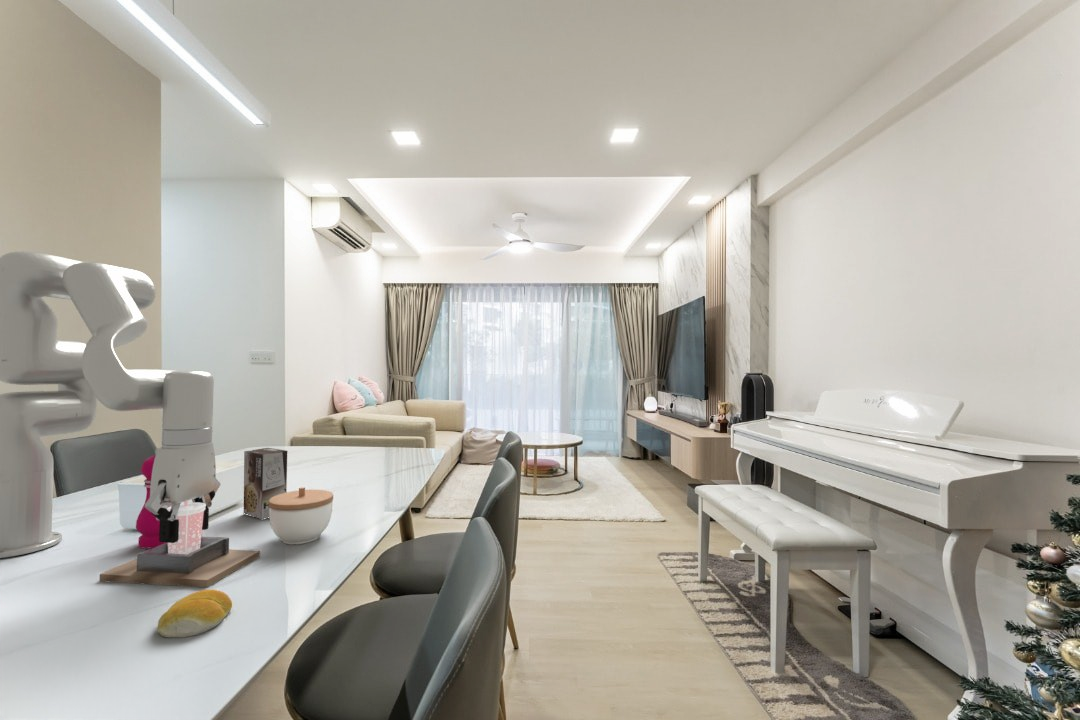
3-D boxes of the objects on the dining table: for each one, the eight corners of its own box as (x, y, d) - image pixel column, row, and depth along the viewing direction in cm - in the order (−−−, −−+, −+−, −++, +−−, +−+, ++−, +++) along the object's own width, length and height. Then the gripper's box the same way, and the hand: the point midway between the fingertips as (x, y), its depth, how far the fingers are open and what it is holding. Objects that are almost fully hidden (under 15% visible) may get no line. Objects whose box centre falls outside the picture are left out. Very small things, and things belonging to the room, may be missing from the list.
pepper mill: (154, 550, 96) (157, 451, 96) (125, 547, 97) (128, 449, 97) (188, 538, 103) (190, 445, 103) (160, 535, 104) (163, 444, 104)
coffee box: (287, 514, 120) (288, 450, 121) (261, 520, 115) (262, 454, 115) (267, 508, 125) (269, 446, 125) (241, 514, 120) (243, 450, 120)
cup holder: (99, 581, 82) (100, 556, 82) (165, 552, 95) (166, 531, 95) (207, 587, 80) (207, 562, 80) (259, 556, 93) (260, 535, 93)
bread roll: (238, 604, 75) (239, 579, 75) (213, 636, 66) (214, 607, 66) (178, 610, 73) (179, 584, 73) (144, 643, 64) (145, 613, 64)
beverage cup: (203, 547, 92) (205, 474, 92) (206, 557, 87) (208, 480, 87) (162, 554, 88) (165, 478, 88) (163, 565, 83) (166, 485, 83)
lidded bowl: (253, 546, 99) (254, 492, 99) (297, 526, 111) (298, 479, 111) (304, 552, 96) (306, 497, 96) (344, 531, 108) (345, 483, 108)
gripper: (205, 431, 97) (202, 519, 97) (124, 444, 80) (120, 552, 79) (240, 432, 96) (237, 521, 96) (165, 445, 79) (162, 554, 79)
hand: (184, 534), depth 88 cm, fingers closed on beverage cup, 6 cm apart
